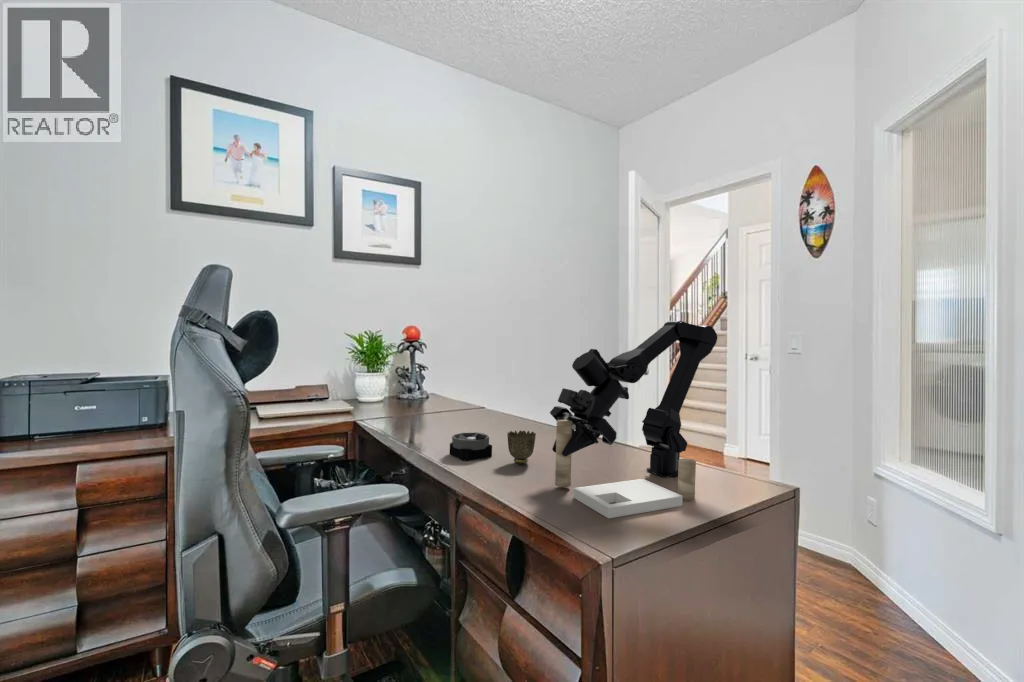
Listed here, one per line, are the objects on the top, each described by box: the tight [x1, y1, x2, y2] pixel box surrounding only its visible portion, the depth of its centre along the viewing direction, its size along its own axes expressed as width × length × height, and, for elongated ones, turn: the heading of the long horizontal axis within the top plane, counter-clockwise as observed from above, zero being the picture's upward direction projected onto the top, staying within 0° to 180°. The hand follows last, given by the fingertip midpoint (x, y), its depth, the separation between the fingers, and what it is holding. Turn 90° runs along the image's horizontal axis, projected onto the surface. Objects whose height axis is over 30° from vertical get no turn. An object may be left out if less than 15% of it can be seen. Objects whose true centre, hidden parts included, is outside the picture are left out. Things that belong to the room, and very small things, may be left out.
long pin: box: [554, 420, 572, 488], centre depth 105 cm, size 3×3×14 cm
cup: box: [507, 429, 537, 466], centre depth 125 cm, size 8×7×8 cm
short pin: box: [677, 458, 697, 502], centre depth 101 cm, size 3×3×8 cm
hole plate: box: [573, 478, 683, 519], centre depth 98 cm, size 18×12×2 cm, turn 115°
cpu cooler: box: [449, 431, 493, 462], centre depth 131 cm, size 10×6×10 cm
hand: (558, 453), depth 105 cm, fingers closed on long pin, 3 cm apart
